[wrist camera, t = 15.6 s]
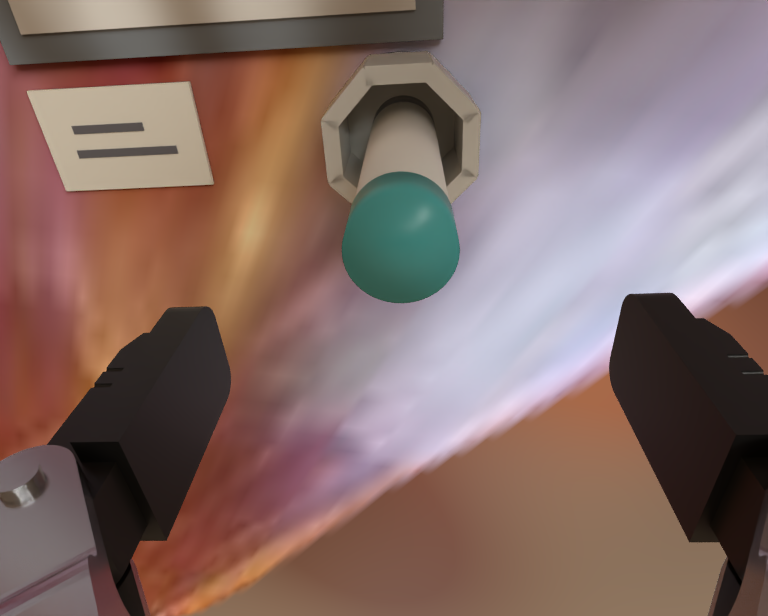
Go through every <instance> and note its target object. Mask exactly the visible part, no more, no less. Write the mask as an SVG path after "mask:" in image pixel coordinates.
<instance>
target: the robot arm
mask: <svg viewBox="0 0 768 616" xmlns="http://www.w3.org/2000/svg"><path fill="white" fill-rule="evenodd" d="M609 373H610V381H611V385H612V388H613V391H614V393H615V395H616V397H617V399H618V401H619V403H620V405H621V407H622V409H623V411H624V413H625V415H626V417H627V419H628V421H629V423H630V425H631V427H632V429H633V431H634V433H635V435H636V437H637V439H638V441H639V443H640V445H641V447H642V449H643V451H644V453H645V455H646V457H647V459H648V461H649V463H650V465H651V467H652V469H653V471H654V472H655V475H656V477H657V479H658V481H659V483H660V484H661V487H662V489H663V491H664V493H665V495H666V496H667V499H668V500H669V503H670V504H671V506H672V508H673V510H674V513H675V514H676V516H677V518H678V520H679V522H680V524H681V526H682V528H683V530H684V532H685V534H686V536H687V538H688V540H689V542H720V544H721V546H722V548H723V550H724V551H725V553H726V555H727V557H726V559H725V561H724V563H723V565H722V568H721V571H720V574H719V578H718V581H717V585H716V588H715V592H714V595H713V599H712V603H711V606H710V609H709V613H708V616H768V375H764V374H763V370H762V369H761V367H760V366H759V365H758V364H757V363H756V362H755V361H754V360H753V359H752V358H749V357H748V353H747V352H746V351H745V350H744V349H743V348H742V347H741V345H740V344H739V343H738V342H737V341H736V340H735V339H734V338H733V337H732V336H731V335H730V334H729V333H727V332H726V331H724V330H722V329H720V328H719V327H717V326H715V325H714V324H712V323H711V322H709V321H707V320H706V319H704V318H697V319H696V318H695V317H694V316H693V315H692V314H691V312H690V311H689V310H688V309H687V308H686V306H685V305H684V304H683V303H682V302H681V301H680V299H679V298H678V297H677V296H676V295H675V294H673V293H648V294H629V295H627V296H626V297H625V299H624V301H623V304H622V307H621V312H620V316H619V321H618V325H617V330H616V334H615V339H614V343H613V348H612V352H611V357H610V363H609ZM94 384H95V387H94V388H91V389H90V390H89V391H88V392H87V394H86V395H85V396H84V398H83V399H82V400H81V401H80V403H79V404H78V405H77V407H76V408H75V409H74V410H73V412H72V413H71V414H70V416H69V417H68V418H67V420H66V421H65V422H64V423H63V425H62V426H61V427H60V429H59V430H58V431H57V432H56V434H55V435H54V436H53V438H52V439H51V440H50V441H49V443H48V444H47V445H43V446H37V447H33V448H29V449H26V450H23V451H20V452H18V453H16V454H13V455H11V456H9V457H7V458H6V459H4V460H2V461H0V616H151V615H150V612H149V608H148V605H147V602H146V598H145V595H144V592H143V588H142V585H141V582H140V578H139V575H138V572H137V568H136V566H135V563H134V561H133V560H132V556H133V554H134V552H135V550H136V548H137V546H138V544H139V542H140V541H167V538H168V536H169V534H170V531H171V529H172V527H173V524H174V522H175V520H176V517H177V515H178V513H179V510H180V508H181V506H182V503H183V501H184V499H185V497H186V494H187V492H188V490H189V487H190V485H191V483H192V480H193V478H194V476H195V473H196V471H197V469H198V466H199V464H200V462H201V459H202V457H203V455H204V452H205V450H206V448H207V445H208V443H209V441H210V438H211V436H212V434H213V431H214V429H215V427H216V424H217V422H218V420H219V417H220V415H221V413H222V410H223V408H224V406H225V403H226V401H227V399H228V396H229V392H230V385H231V374H230V367H229V363H228V360H227V356H226V353H225V349H224V346H223V342H222V339H221V336H220V332H219V329H218V325H217V322H216V318H215V315H214V313H213V311H212V310H211V308H209V307H174V308H169V309H167V310H166V311H165V313H164V314H163V315H162V317H161V318H160V319H159V321H158V322H157V324H156V325H155V326H154V328H153V329H152V330H151V332H150V333H143V334H142V335H140V336H139V337H137V338H136V339H135V340H133V341H132V342H131V343H129V344H128V345H126V346H125V347H124V348H122V349H121V350H120V351H119V353H118V354H117V355H116V356H115V358H114V359H113V360H112V362H111V363H110V364H109V365H108V367H107V371H106V372H103V373H102V374H101V376H100V377H99V378H98V380H97V381H96V382H95V383H94Z"/></svg>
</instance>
